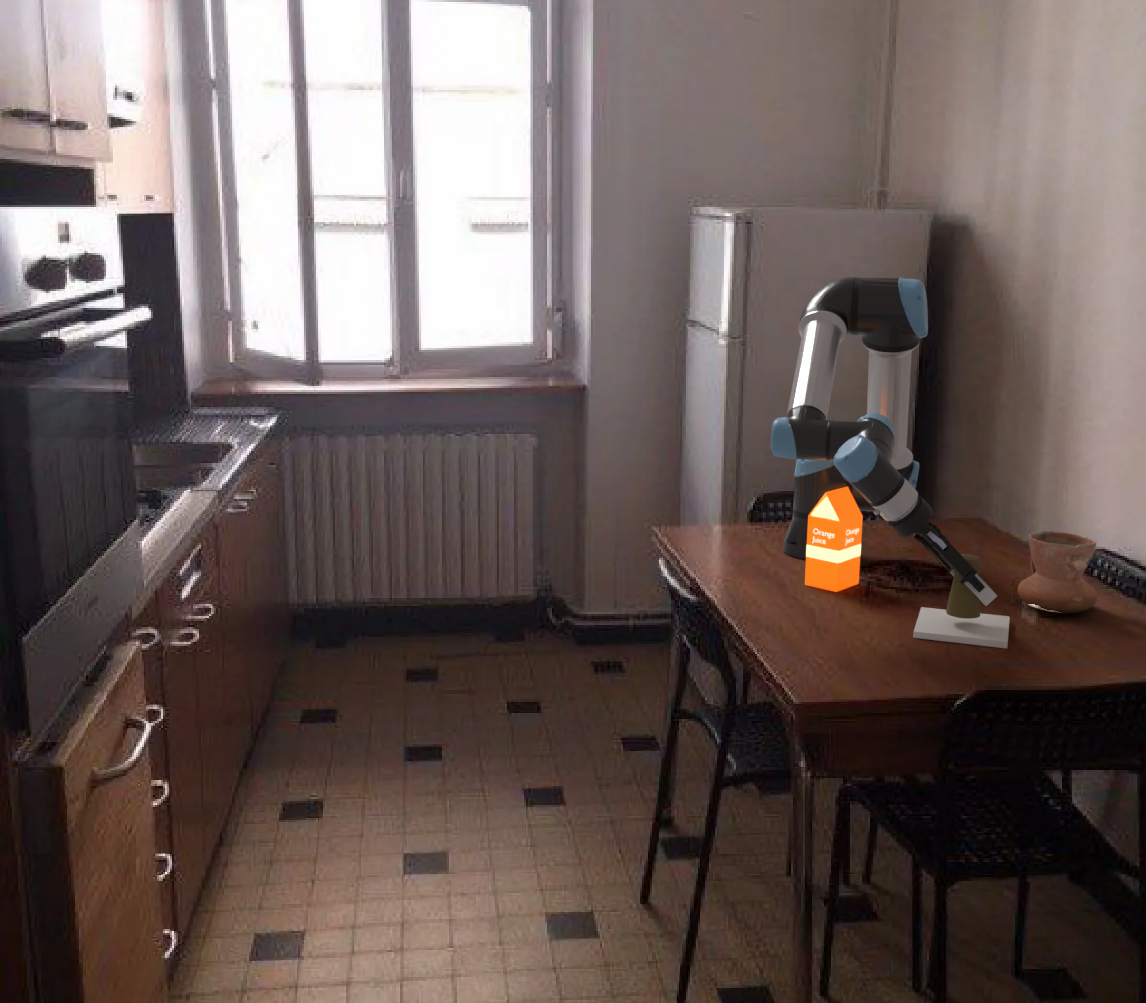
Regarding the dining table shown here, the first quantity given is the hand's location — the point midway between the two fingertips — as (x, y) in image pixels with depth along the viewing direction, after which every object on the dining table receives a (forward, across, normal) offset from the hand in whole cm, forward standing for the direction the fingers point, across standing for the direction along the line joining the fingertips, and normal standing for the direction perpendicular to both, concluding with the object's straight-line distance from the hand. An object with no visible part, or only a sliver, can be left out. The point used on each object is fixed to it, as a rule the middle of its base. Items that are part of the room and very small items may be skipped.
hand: (984, 595), depth 229 cm
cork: (0, 0, -5) cm, 5 cm away
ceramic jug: (+19, -13, +10) cm, 25 cm away
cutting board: (+2, 0, -7) cm, 7 cm away
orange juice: (-9, -31, -18) cm, 37 cm away
